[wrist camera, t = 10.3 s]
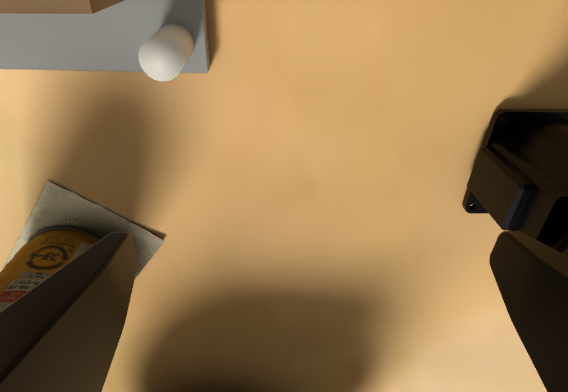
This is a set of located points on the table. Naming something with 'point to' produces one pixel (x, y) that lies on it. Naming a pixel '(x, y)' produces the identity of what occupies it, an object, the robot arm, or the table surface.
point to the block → (55, 6)
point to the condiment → (63, 240)
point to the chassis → (111, 39)
